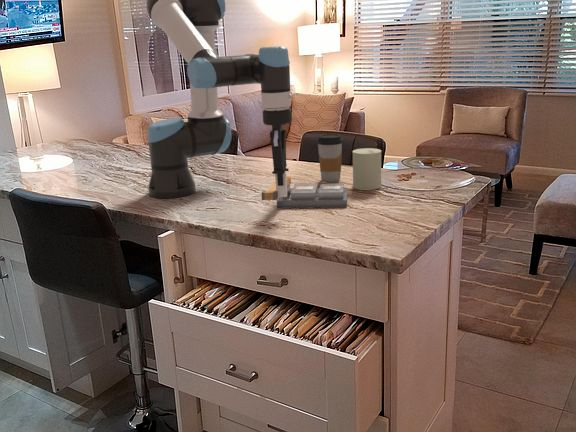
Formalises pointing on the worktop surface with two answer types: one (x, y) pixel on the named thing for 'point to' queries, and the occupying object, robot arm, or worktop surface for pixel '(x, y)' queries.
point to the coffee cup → (330, 157)
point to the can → (367, 169)
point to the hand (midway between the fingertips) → (281, 196)
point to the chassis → (314, 196)
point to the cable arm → (273, 191)
